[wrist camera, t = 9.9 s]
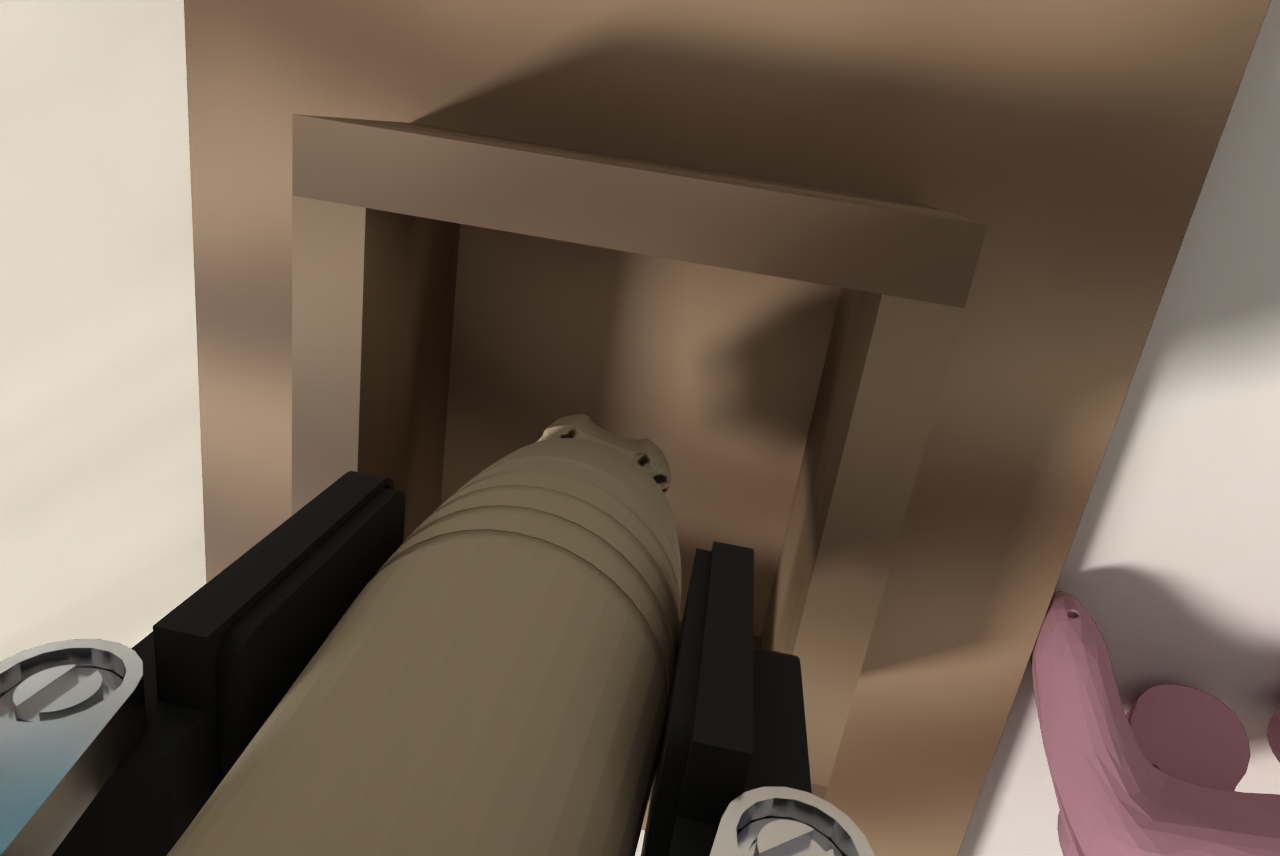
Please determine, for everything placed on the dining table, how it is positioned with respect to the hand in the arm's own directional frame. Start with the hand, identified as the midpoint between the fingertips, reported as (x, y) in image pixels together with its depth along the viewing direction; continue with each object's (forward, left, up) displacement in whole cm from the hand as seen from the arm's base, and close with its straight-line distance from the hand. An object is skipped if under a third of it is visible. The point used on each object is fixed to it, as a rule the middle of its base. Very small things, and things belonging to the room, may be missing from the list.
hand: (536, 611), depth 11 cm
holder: (0, 0, -9) cm, 9 cm away
